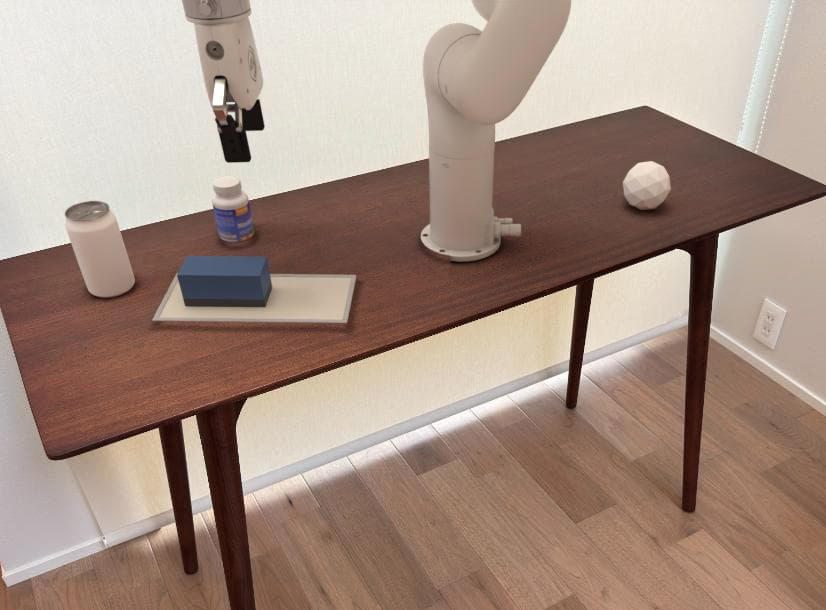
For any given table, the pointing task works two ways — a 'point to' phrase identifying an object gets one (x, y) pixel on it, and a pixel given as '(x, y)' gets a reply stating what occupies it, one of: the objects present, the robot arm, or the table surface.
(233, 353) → the table surface
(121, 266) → the can
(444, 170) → the robot arm
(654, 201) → the geometric ball
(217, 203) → the pill bottle
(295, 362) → the table surface
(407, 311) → the table surface
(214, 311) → the whiteboard
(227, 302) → the eraser
